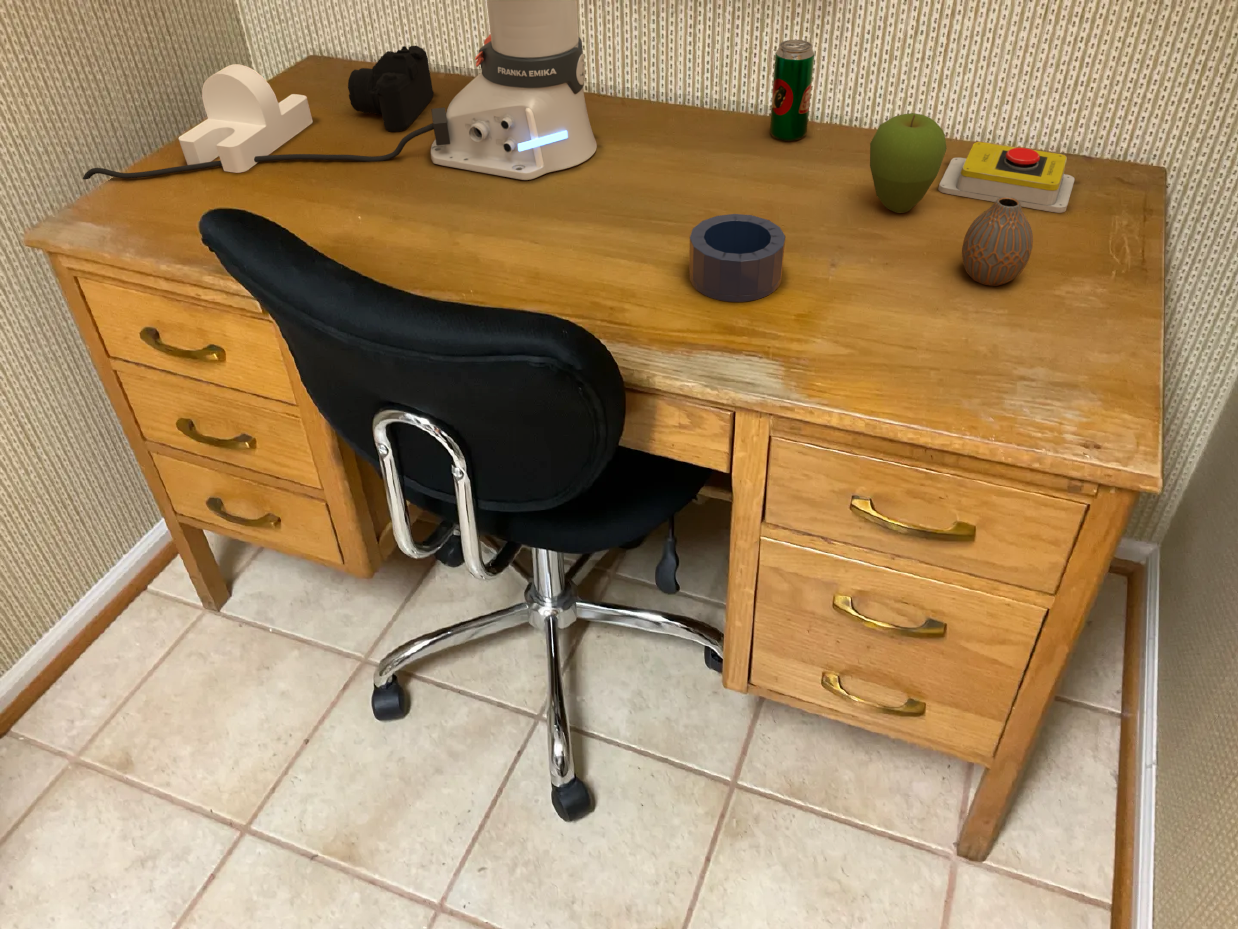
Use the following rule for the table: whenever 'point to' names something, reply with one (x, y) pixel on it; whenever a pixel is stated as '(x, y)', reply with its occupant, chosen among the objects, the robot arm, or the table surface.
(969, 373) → the table surface
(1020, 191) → the emergency button
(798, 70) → the soda can
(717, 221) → the socket
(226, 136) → the white slotted bracket
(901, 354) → the table surface
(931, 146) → the apple
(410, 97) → the film camera
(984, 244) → the vase
